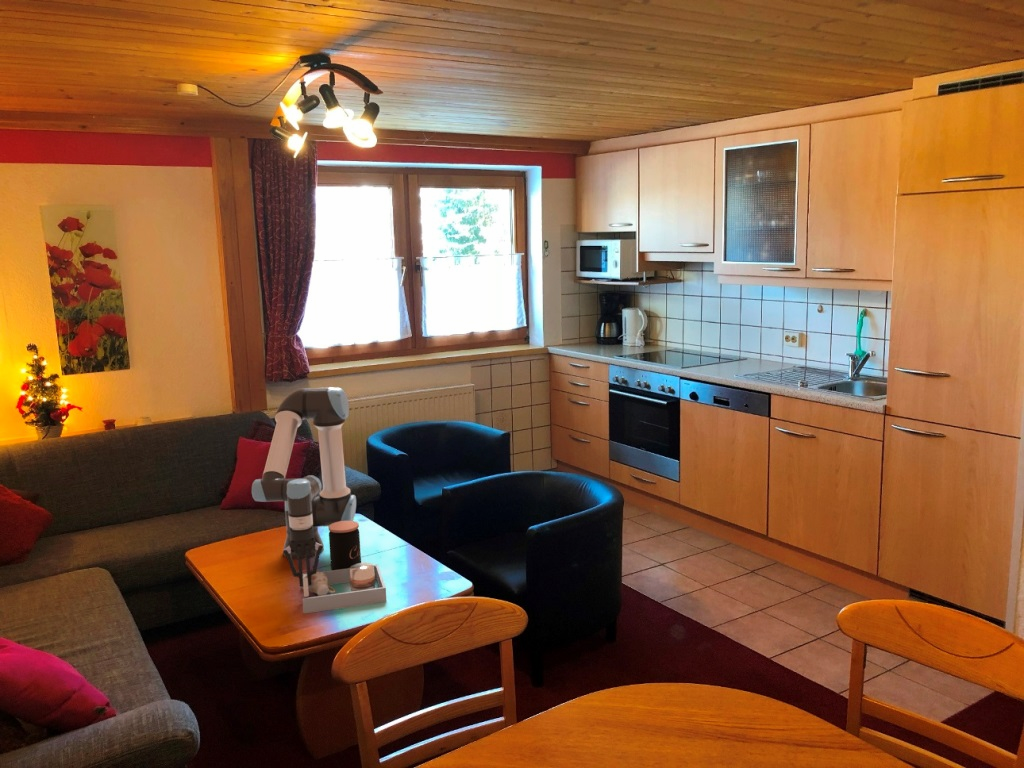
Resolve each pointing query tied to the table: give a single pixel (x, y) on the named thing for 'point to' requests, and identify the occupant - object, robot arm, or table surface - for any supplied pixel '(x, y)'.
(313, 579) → the mug
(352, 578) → the round glass jar
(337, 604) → the grey u-shaped low frame
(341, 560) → the coffee jar
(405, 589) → the table surface
